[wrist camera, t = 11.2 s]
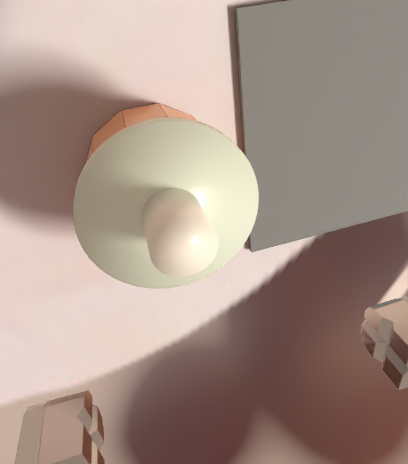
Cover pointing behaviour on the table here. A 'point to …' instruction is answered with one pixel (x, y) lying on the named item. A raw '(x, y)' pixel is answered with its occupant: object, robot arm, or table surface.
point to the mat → (324, 113)
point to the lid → (165, 203)
